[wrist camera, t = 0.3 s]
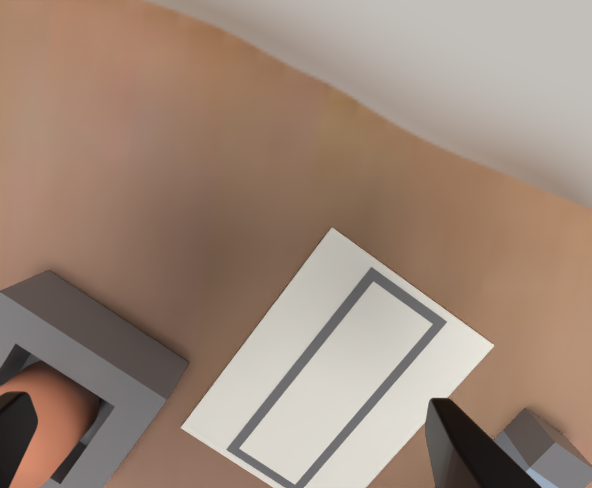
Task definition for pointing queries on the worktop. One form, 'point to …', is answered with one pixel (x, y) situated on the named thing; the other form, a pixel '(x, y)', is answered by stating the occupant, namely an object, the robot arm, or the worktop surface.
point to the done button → (51, 420)
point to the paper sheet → (335, 374)
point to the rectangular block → (544, 453)
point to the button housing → (88, 368)
